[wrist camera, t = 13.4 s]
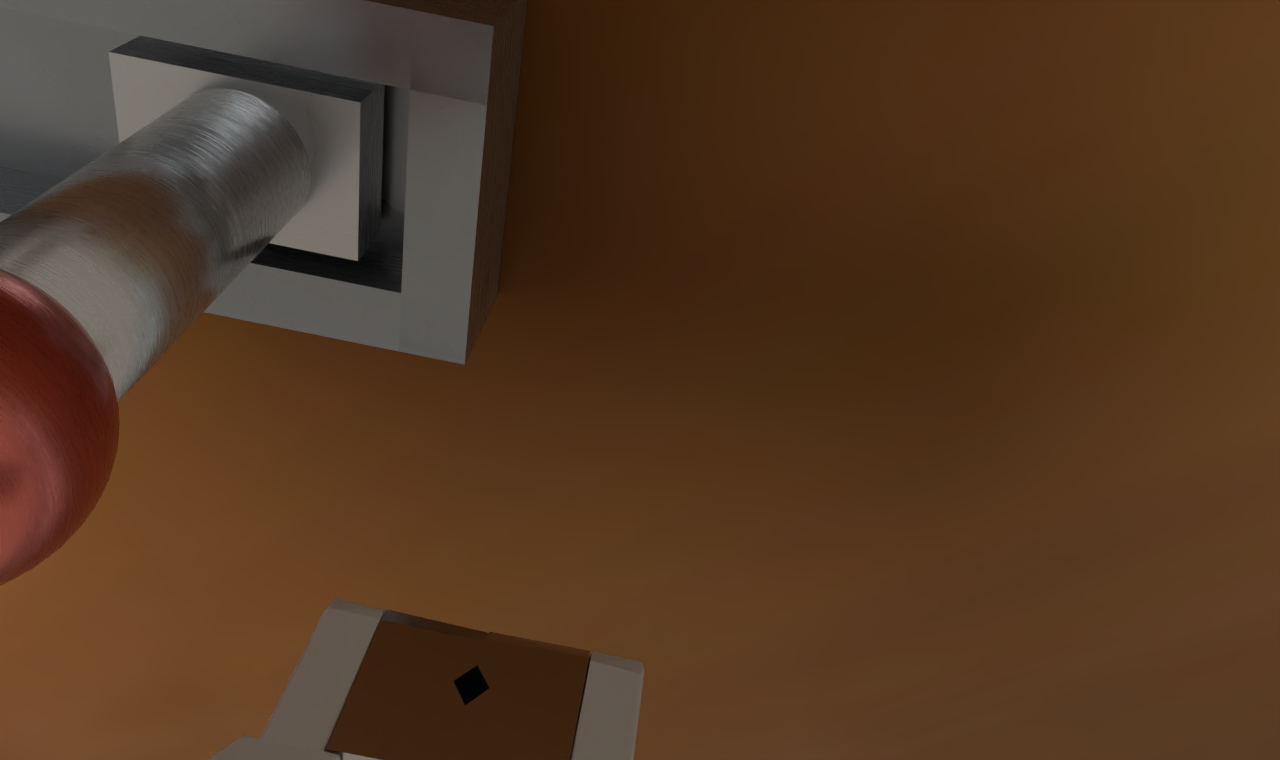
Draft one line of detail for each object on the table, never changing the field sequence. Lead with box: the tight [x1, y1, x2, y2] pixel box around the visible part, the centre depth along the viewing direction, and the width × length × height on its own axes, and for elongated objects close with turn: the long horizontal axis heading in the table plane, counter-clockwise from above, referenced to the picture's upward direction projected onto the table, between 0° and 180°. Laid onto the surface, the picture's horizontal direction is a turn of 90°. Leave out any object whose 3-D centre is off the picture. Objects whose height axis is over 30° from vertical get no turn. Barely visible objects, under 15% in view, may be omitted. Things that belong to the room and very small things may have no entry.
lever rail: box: [0, 0, 528, 365], centre depth 18 cm, size 6×16×3 cm, turn 80°
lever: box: [0, 35, 384, 586], centre depth 14 cm, size 4×4×10 cm
